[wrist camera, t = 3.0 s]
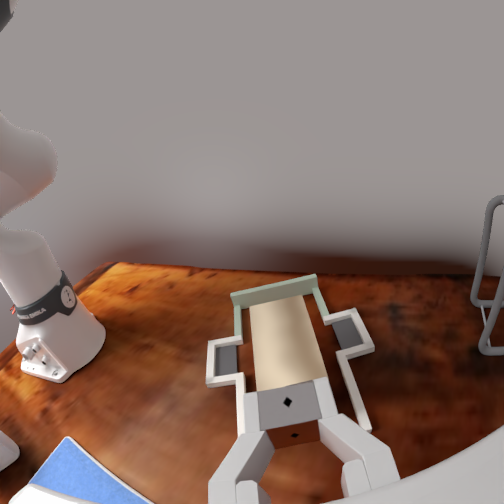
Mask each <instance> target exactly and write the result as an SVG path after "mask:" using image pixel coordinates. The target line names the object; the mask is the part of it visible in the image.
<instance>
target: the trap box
mask: <svg viewBox="0 0 504 504" xmlns="http://www.w3.org/2000/svg"><path fill="white" fill-rule="evenodd" d="M312 293H313V295H314V298H315V300H316V303H317V306H318V308H319V311H320V314H321V316H322V319H323V322H324V324H325V326H327V325H331V324H332V326H333V329H334V331H335V334H336V337H337V339H338V342H339V344H340V347H341V350H340V351H336V358H337V361H338V364H339V366H340V369H341V372H342V375H343V378H344V381H345V384H346V387H347V390H348V393H349V396H350V399H351V402H352V405H353V408H354V411H355V414H356V417H357V420H358V423H359V426H360V427H362V428H363V429H364V430H366V431H367V432H368V433H371V431H372V427H371V424H370V421H369V418H368V416H367V413H366V410H365V407H364V404H363V401H362V399H361V396H360V393H359V390H358V388H357V385H356V382H355V379H354V377H353V374H352V371H351V369H350V366H349V363H348V361H347V359H351V358H354V357H358V356H361V355H364V354H368V353H371V352H374V350H375V346H374V344H373V342H372V340H371V338H370V336H369V334H368V332H367V330H366V328H365V326H364V324H363V322H362V320H361V318H360V316H359V314H358V312H357V310H356V308H353V309H349V310H346V311H342V312H338V313H334V314H331V315H329V312H328V310H327V307H326V305H325V302H324V300H323V298H322V295H321V293H320V290H319V288H318V282H317V276H316V274H312V275H308V276H303V277H299V278H295V279H291V280H286V281H282V282H278V283H273V284H269V285H265V286H260V287H256V288H251V289H247V290H242V291H237V292H233V293H231V299H232V302H233V305H234V335H235V336H233V337H227V338H222V339H216V340H211V341H208V352H207V369H206V385H207V387H208V388H213V387H220V386H227V385H234V384H236V400H237V426H238V437H239V436H240V434H243V433H245V430H244V411H243V395H244V394H245V393H246V384H245V375H244V373H243V372H241V373H237V347H236V346H237V345H242V344H243V332H242V313H241V309H246V308H249V306H254V305H258V304H263V303H267V302H272V301H276V300H281V299H285V298H289V297H294V296H298V295H302V296H303V295H307V294H312Z"/></svg>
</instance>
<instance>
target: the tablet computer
mask: <svg viewBox="0 0 504 504" xmlns="http://www.w3.org/2000/svg"><path fill="white" fill-rule="evenodd" d="M31 483H33V484H37V485H40V486H42V487H45V488H48V489H51V490H54V491H57V492H60V493H63V494H66V495H70V496H73V497H77V498H80V499H84V500H88V501H92V502H96V503H101V504H155V503H153V502H152V501H150V500H149V499H147V498H146V497H144V496H143V495H141V494H140V493H138V492H137V491H135V490H134V489H132V488H131V487H130V486H128V485H127V484H126V483H124V482H123V481H122V480H120V479H119V478H118V477H116V476H115V475H114V474H113V473H111V472H110V471H109V470H108V469H106V468H105V467H104V466H103V465H102V464H100V463H99V462H98V461H97V460H96V459H94V458H93V457H92V456H91V455H90V454H89V453H88V452H86V451H85V450H84V449H83V448H82V447H81V446H80V445H79V444H78V443H77V442H76V441H75V440H74V439H73V438H71V437H65V438H64V439H63V440H62V442H61V443H60V444H59V445H58V447H57V448H56V449H55V450H54V452H53V453H52V454H51V455H50V456H49V458H48V459H47V460H46V461H45V463H44V464H43V465H42V466H41V468H40V469H39V470H38V471H37V473H36V474H35V475H34V476H33V478H32V479H31V480H30V481H29V483H28V484H31Z"/></svg>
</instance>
